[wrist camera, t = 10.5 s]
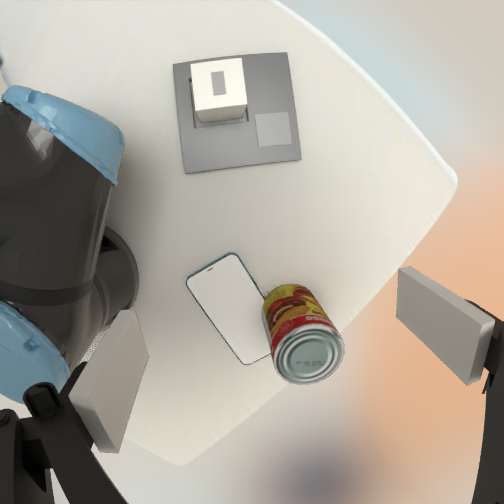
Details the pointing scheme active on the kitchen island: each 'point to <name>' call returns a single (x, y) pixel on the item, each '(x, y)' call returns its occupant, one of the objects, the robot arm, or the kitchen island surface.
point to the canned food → (300, 335)
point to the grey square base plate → (244, 133)
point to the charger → (219, 89)
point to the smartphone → (232, 306)
